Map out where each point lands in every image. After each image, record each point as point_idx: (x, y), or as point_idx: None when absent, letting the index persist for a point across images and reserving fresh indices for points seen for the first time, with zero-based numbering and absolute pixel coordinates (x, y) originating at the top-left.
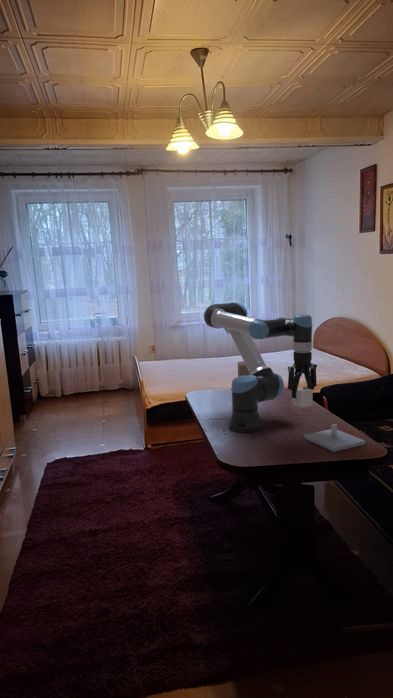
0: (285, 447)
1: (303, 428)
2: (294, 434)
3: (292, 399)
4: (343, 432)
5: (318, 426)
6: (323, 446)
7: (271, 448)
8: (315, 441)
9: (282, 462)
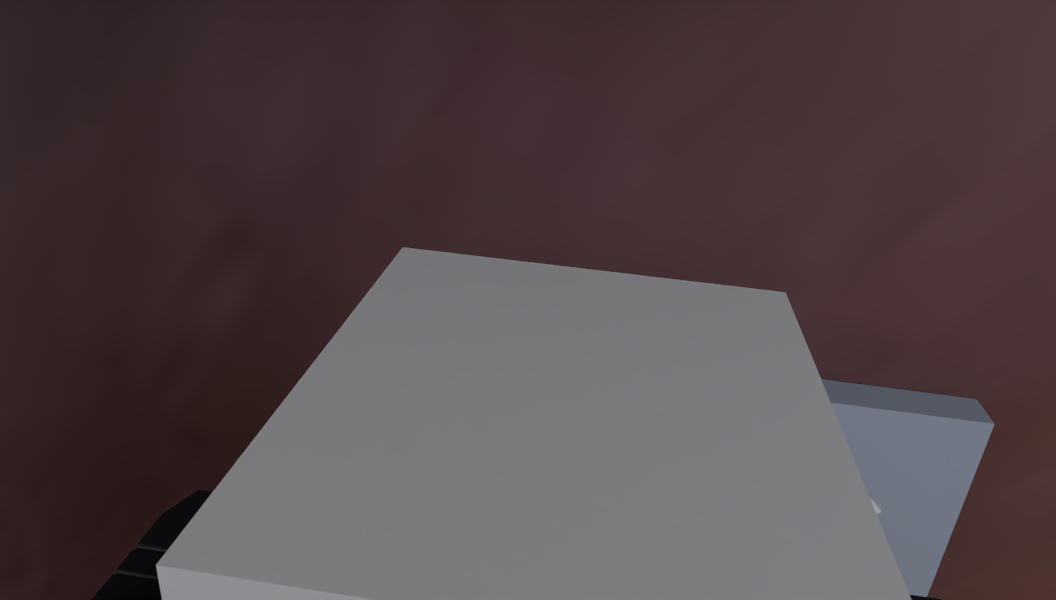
0: (170, 403)
1: (784, 48)
2: (493, 170)
3: (355, 310)
4: (928, 566)
5: (1041, 116)
6: None
7: (33, 343)
8: None
9: (3, 589)
